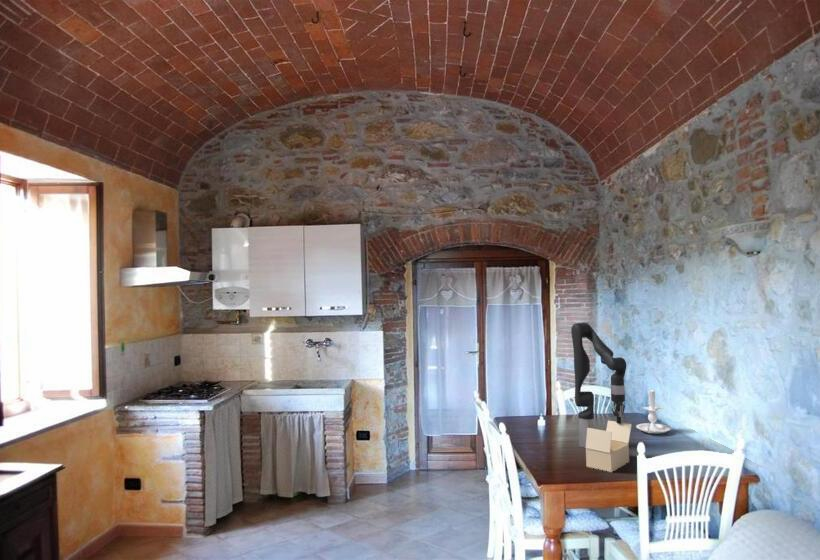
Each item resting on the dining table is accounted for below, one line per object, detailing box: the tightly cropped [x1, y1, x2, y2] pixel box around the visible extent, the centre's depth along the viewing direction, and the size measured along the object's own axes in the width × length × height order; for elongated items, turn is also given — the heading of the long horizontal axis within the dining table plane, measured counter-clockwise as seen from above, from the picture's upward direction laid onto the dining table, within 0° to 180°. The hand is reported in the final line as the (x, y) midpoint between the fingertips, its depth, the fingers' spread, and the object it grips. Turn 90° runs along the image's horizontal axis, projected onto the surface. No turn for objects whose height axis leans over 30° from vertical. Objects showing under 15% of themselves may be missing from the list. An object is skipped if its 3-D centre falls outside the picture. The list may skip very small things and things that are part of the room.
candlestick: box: [635, 389, 671, 435], centre depth 343 cm, size 21×25×28 cm
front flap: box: [585, 428, 612, 453], centre depth 281 cm, size 11×14×1 cm
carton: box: [585, 441, 630, 474], centre depth 287 cm, size 22×14×10 cm, turn 134°
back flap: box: [605, 420, 633, 444], centre depth 297 cm, size 11×14×1 cm
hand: (619, 423), depth 298 cm, fingers closed
